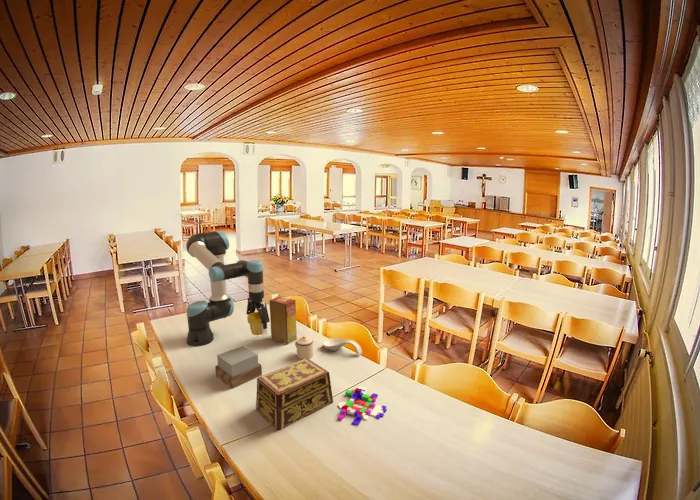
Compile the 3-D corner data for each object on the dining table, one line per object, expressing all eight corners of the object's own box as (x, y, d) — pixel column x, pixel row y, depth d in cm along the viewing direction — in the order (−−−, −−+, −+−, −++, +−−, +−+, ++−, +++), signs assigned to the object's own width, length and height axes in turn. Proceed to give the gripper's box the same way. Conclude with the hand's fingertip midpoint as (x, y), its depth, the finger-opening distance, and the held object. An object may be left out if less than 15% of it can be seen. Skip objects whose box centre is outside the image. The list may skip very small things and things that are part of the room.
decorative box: (278, 431, 144) (276, 397, 140) (255, 409, 157) (253, 377, 154) (333, 402, 161) (332, 371, 158) (308, 385, 175) (307, 355, 172)
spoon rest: (319, 350, 209) (318, 338, 208) (330, 341, 219) (330, 330, 218) (355, 360, 198) (355, 347, 196) (365, 351, 208) (365, 339, 206)
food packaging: (297, 338, 223) (296, 299, 218) (287, 344, 216) (285, 304, 210) (281, 333, 230) (279, 295, 225) (270, 339, 223) (268, 300, 217)
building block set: (374, 432, 143) (374, 422, 142) (327, 418, 152) (327, 408, 151) (395, 397, 165) (395, 388, 164) (353, 386, 174) (353, 377, 173)
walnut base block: (216, 377, 183) (215, 366, 182) (244, 364, 195) (244, 354, 193) (232, 389, 172) (231, 377, 171) (262, 375, 184) (261, 364, 183)
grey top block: (218, 366, 182) (217, 355, 180) (243, 356, 191) (243, 345, 190) (232, 377, 172) (231, 365, 171) (258, 365, 182) (257, 354, 180)
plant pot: (272, 330, 196) (271, 312, 194) (261, 338, 187) (260, 320, 185) (255, 327, 200) (254, 310, 198) (244, 335, 190) (243, 317, 188)
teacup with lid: (317, 355, 203) (316, 335, 200) (304, 361, 196) (303, 341, 194) (302, 348, 210) (301, 329, 208) (289, 354, 204) (288, 335, 201)
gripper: (237, 287, 193) (240, 327, 198) (262, 297, 178) (265, 340, 183) (250, 284, 199) (252, 322, 203) (275, 293, 183) (277, 335, 188)
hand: (258, 331), depth 193 cm, fingers closed on plant pot, 10 cm apart
